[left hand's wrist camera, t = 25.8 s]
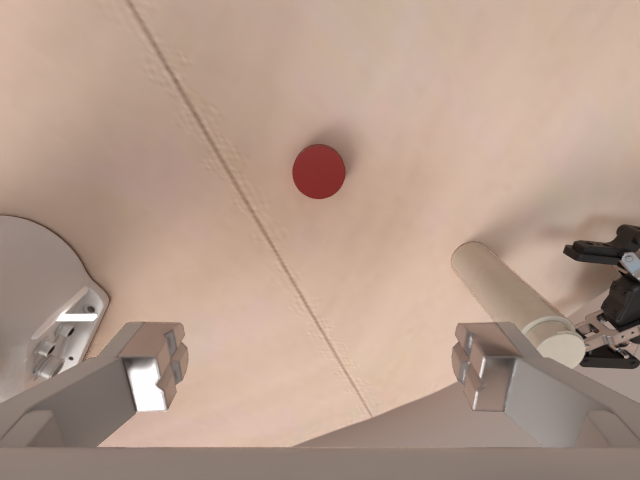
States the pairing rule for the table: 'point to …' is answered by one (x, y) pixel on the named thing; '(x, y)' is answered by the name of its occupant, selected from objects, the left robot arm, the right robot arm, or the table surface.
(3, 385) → the left robot arm
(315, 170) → the lid
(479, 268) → the beige cylindrical piece
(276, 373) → the table surface
